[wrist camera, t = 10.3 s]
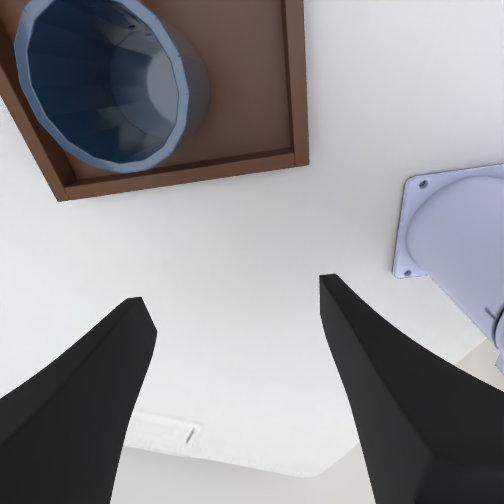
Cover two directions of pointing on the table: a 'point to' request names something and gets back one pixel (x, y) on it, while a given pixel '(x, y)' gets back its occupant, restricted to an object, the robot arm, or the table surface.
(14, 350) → the table surface
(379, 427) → the robot arm
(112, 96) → the cup
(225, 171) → the tray
